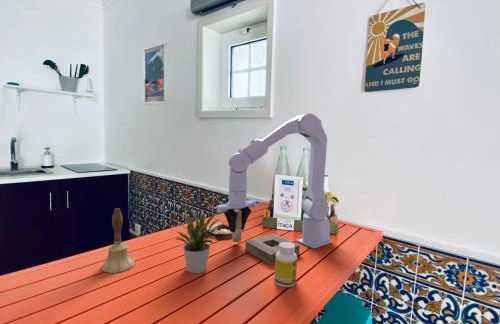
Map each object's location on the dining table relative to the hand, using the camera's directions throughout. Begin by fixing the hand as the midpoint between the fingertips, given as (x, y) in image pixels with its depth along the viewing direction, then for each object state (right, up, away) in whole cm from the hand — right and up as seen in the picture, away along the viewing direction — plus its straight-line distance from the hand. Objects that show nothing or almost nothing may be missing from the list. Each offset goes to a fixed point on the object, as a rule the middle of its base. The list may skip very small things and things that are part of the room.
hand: (236, 230), depth 92 cm
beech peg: (0, -3, 0) cm, 3 cm away
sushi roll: (-6, -4, +11) cm, 13 cm away
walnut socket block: (+11, -6, -4) cm, 13 cm away
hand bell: (-32, -6, -16) cm, 36 cm away
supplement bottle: (+13, -8, -22) cm, 27 cm away
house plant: (-9, -7, -16) cm, 19 cm away
